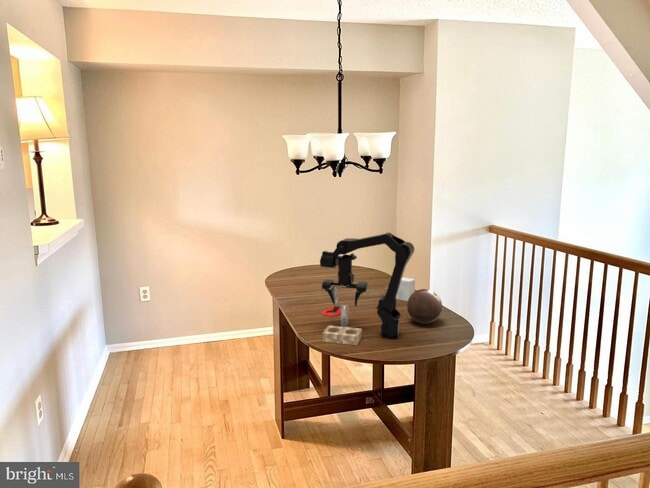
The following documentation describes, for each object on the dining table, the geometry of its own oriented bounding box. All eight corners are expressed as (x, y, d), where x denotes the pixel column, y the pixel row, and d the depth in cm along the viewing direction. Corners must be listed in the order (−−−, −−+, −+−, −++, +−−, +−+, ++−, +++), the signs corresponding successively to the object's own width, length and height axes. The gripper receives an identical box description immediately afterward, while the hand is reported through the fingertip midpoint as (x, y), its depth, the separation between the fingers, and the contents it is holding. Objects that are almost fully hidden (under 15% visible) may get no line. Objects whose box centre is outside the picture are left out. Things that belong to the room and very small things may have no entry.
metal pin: (348, 327, 205) (348, 304, 204) (347, 329, 203) (347, 307, 201) (341, 326, 206) (342, 304, 204) (340, 329, 203) (340, 306, 201)
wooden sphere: (442, 329, 203) (444, 295, 200) (406, 327, 205) (407, 293, 202) (440, 317, 217) (441, 285, 214) (406, 316, 220) (407, 284, 217)
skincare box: (414, 298, 245) (415, 278, 243) (409, 301, 240) (409, 281, 238) (396, 295, 251) (397, 275, 249) (390, 298, 246) (391, 278, 244)
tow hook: (333, 319, 217) (345, 312, 224) (332, 291, 214) (344, 286, 221) (318, 315, 222) (330, 309, 229) (317, 288, 219) (329, 283, 226)
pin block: (361, 336, 195) (361, 328, 194) (357, 345, 186) (357, 336, 186) (328, 333, 199) (328, 325, 198) (322, 341, 190) (322, 333, 189)
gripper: (370, 266, 205) (370, 301, 208) (328, 263, 210) (328, 298, 212) (365, 272, 194) (365, 309, 197) (321, 269, 199) (321, 305, 202)
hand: (344, 305), depth 202 cm, fingers open, 9 cm apart
